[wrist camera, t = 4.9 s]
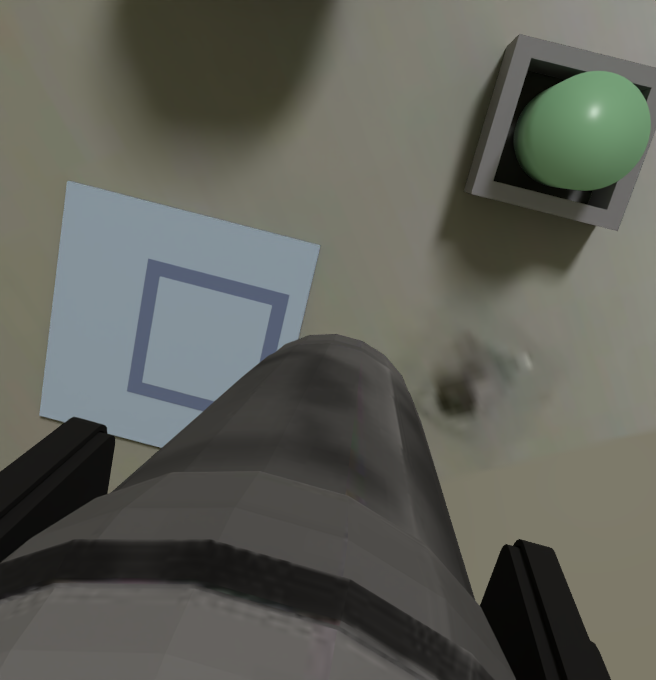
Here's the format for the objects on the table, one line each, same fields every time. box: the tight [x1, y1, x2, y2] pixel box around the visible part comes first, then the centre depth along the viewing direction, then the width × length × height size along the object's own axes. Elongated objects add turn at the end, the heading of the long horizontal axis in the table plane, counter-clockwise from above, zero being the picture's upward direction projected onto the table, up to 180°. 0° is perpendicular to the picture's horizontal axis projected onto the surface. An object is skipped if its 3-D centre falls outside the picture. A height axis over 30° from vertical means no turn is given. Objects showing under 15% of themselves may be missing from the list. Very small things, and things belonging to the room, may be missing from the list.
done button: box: [514, 71, 651, 191], centre depth 27 cm, size 5×5×4 cm
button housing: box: [464, 34, 656, 231], centre depth 30 cm, size 7×7×3 cm
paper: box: [39, 181, 321, 448], centre depth 35 cm, size 14×14×1 cm
